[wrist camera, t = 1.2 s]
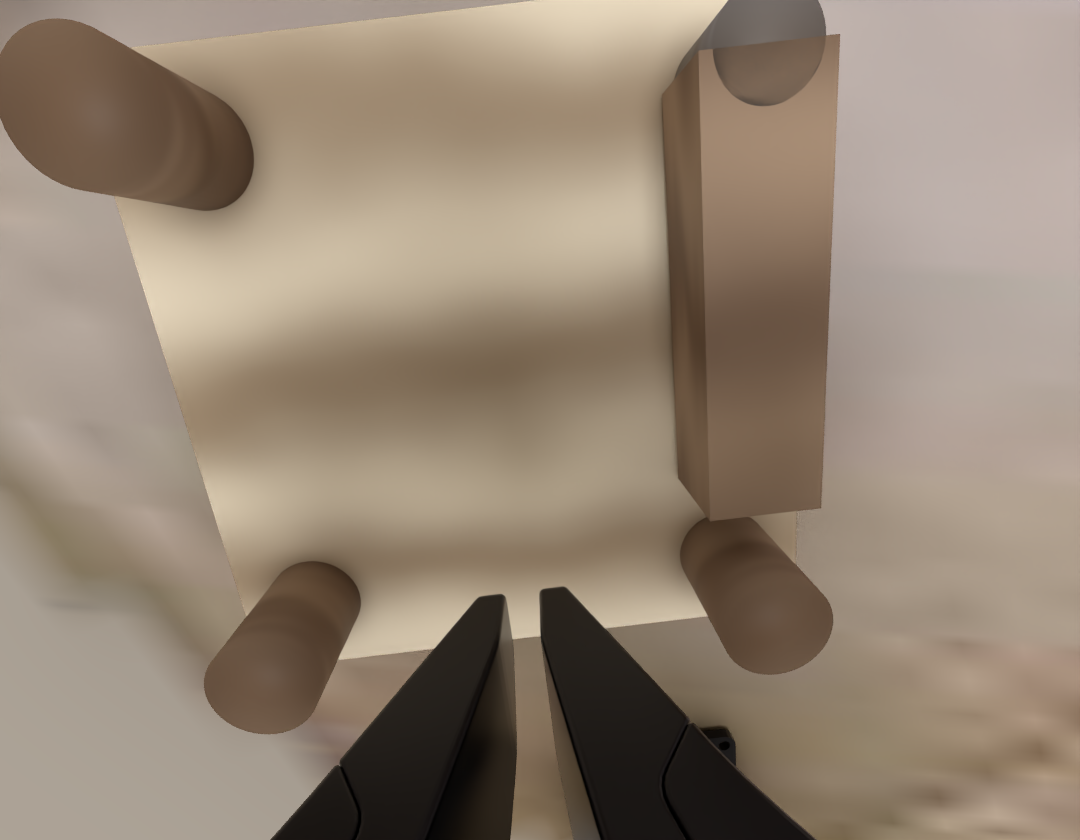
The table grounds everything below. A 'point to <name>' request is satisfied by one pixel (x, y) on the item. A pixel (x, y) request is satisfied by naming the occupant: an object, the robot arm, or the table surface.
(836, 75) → the hinged leg
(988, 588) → the table surface
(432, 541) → the stool seat
